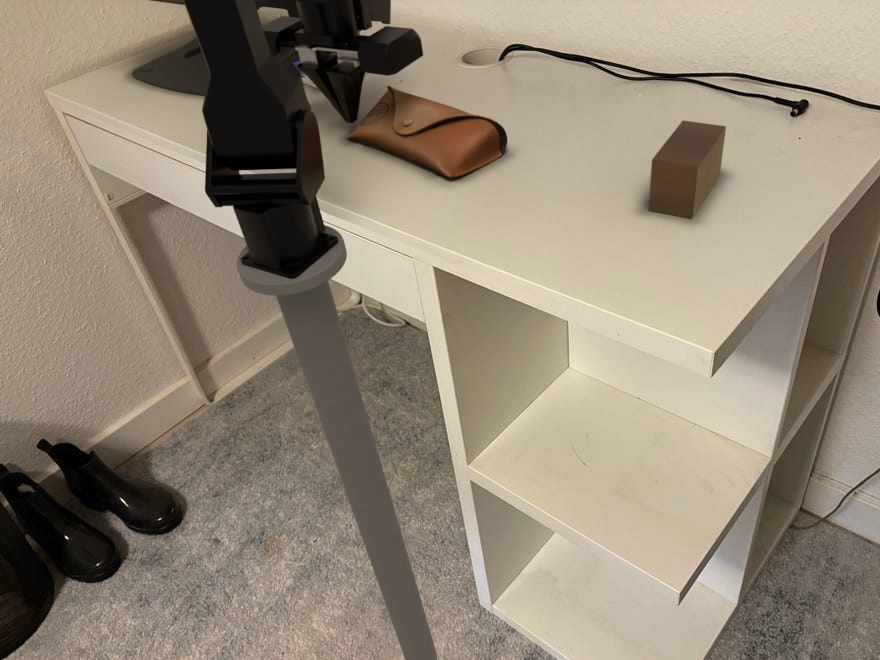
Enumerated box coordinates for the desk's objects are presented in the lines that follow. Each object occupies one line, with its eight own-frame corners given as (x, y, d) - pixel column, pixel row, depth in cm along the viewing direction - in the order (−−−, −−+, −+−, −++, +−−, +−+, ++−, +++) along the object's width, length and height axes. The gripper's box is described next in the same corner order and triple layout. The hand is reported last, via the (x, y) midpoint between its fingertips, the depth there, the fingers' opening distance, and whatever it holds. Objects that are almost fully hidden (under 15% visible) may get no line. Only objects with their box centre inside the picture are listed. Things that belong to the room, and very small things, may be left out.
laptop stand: (354, 40, 108) (329, -80, 97) (233, 105, 94) (189, -27, 84) (235, 23, 120) (202, -86, 109) (113, 78, 106) (61, -41, 96)
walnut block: (692, 219, 65) (697, 166, 61) (648, 210, 66) (651, 159, 63) (719, 176, 70) (726, 125, 66) (678, 169, 71) (682, 119, 68)
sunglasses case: (339, 136, 83) (351, 75, 81) (385, 145, 88) (398, 88, 86) (453, 180, 73) (471, 111, 71) (497, 187, 78) (515, 123, 76)
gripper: (441, -49, 74) (459, 103, 84) (299, -55, 82) (331, 84, 92) (376, -15, 67) (404, 146, 77) (228, -25, 75) (272, 122, 85)
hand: (352, 121), depth 83 cm, fingers closed
